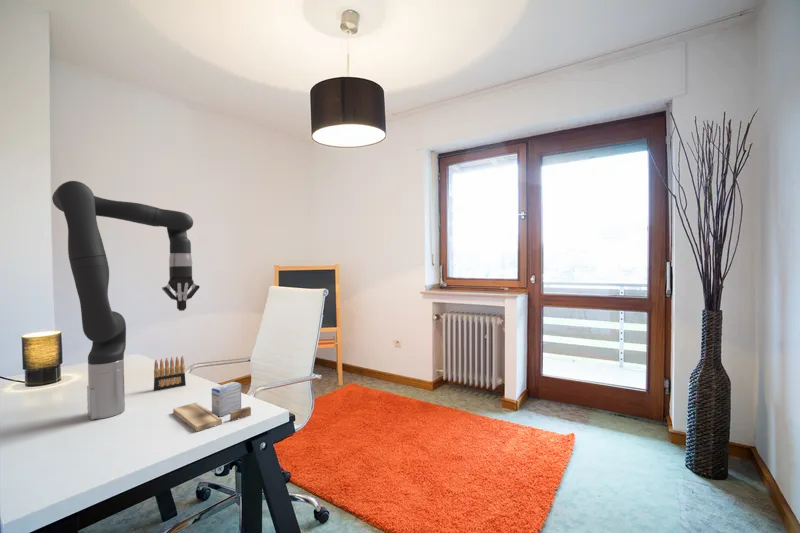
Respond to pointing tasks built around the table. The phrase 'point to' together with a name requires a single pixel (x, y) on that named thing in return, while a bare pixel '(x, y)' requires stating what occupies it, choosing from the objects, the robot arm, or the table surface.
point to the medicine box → (226, 398)
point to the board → (197, 416)
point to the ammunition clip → (172, 379)
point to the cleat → (240, 413)
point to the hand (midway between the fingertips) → (181, 310)
